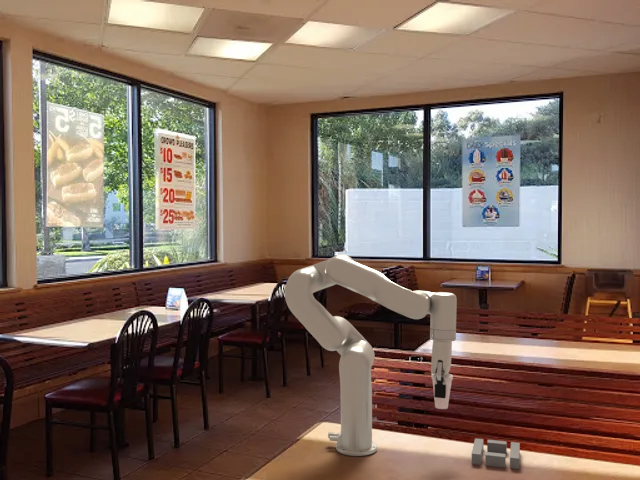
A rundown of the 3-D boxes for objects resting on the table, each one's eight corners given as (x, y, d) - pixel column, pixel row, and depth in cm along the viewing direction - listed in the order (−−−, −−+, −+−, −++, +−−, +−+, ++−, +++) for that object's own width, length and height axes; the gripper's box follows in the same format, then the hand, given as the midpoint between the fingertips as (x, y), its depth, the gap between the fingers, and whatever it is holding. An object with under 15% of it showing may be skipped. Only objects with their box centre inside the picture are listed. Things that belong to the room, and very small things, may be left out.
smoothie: (452, 411, 180) (453, 363, 180) (430, 409, 182) (431, 362, 181) (452, 404, 187) (453, 358, 186) (430, 403, 188) (431, 357, 187)
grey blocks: (471, 463, 177) (471, 453, 177) (475, 448, 190) (475, 438, 190) (519, 469, 173) (519, 458, 173) (519, 452, 186) (519, 442, 186)
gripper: (434, 328, 193) (432, 385, 193) (425, 338, 176) (424, 401, 177) (458, 330, 190) (457, 388, 191) (452, 340, 174) (451, 403, 175)
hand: (441, 393), depth 184 cm, fingers closed on smoothie, 6 cm apart
